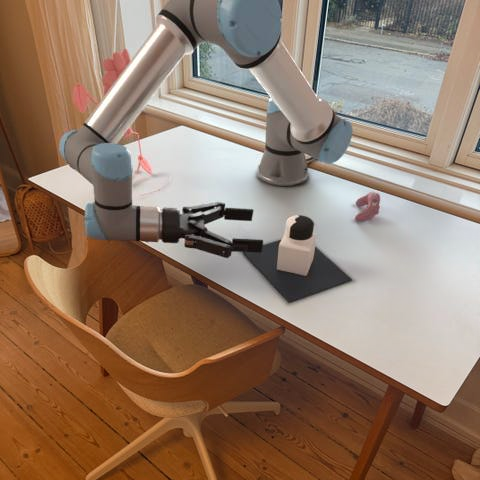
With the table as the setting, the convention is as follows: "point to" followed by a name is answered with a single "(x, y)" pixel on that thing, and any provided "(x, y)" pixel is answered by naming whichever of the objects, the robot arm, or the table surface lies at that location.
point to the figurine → (113, 72)
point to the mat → (295, 285)
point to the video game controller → (368, 206)
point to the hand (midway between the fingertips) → (257, 229)
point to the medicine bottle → (297, 246)
